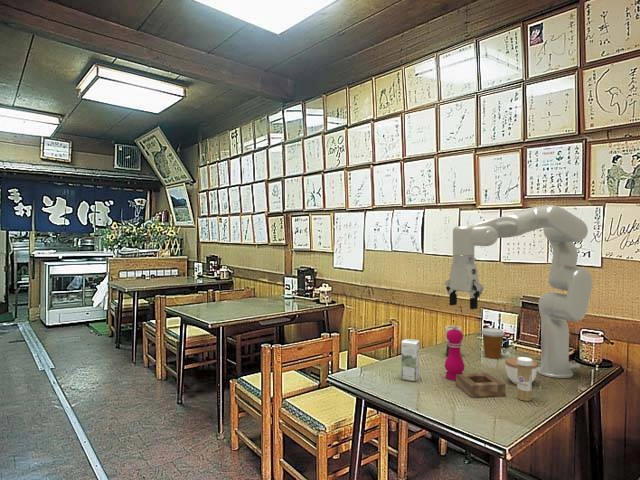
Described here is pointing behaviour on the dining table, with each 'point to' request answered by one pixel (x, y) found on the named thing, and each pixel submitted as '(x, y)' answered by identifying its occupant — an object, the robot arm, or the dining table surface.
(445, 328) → the character mug
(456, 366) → the pepper mill
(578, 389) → the dining table surface
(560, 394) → the dining table surface
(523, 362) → the sprinkles bottle
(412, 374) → the syrup box
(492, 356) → the disposable coffee cup
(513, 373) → the lidded jar
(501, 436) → the dining table surface
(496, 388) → the socket block
